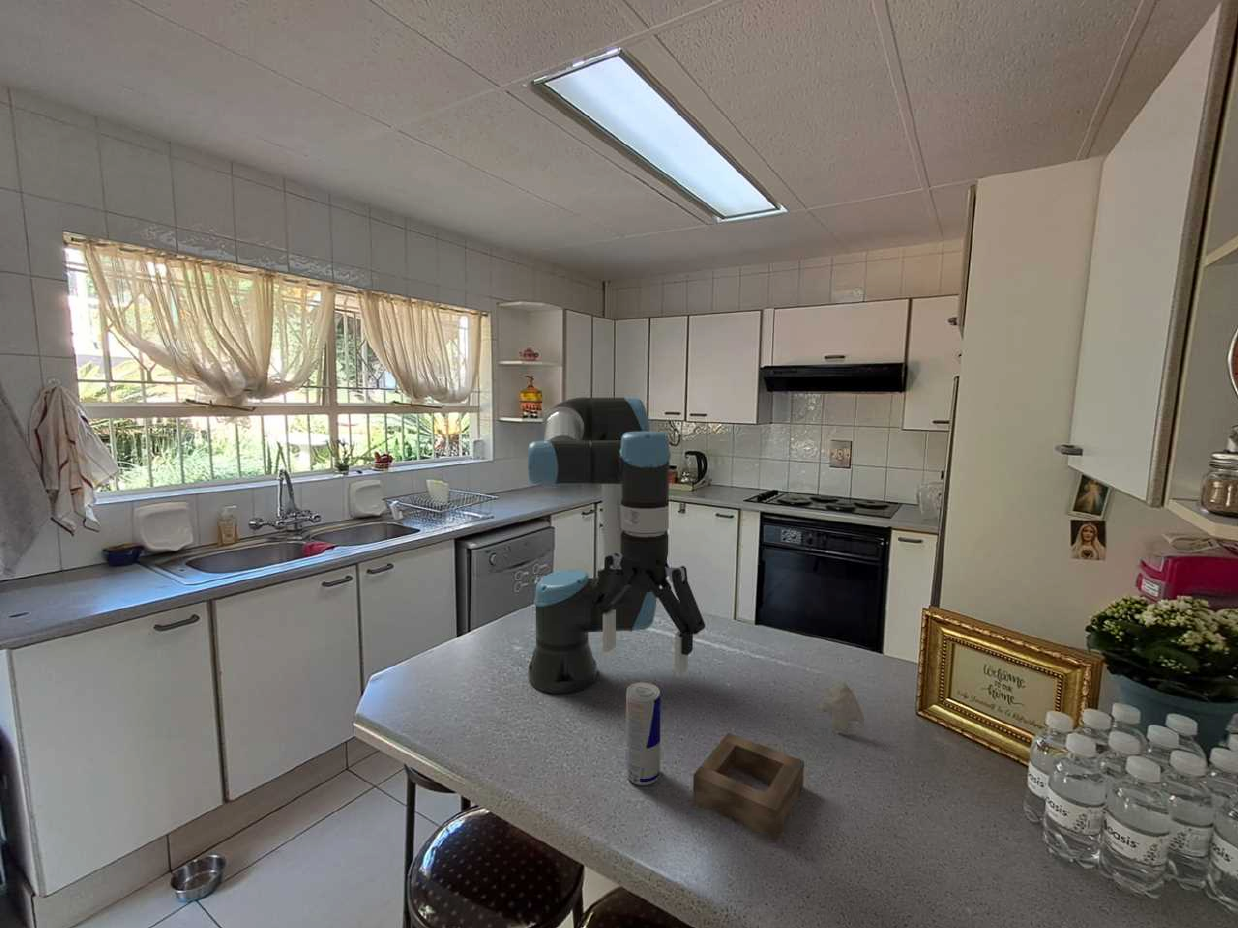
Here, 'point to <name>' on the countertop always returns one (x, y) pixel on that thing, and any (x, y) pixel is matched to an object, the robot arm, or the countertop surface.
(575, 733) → the countertop surface
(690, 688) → the countertop surface
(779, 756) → the socket
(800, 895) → the countertop surface
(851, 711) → the arrowhead
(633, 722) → the beverage can
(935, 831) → the countertop surface
